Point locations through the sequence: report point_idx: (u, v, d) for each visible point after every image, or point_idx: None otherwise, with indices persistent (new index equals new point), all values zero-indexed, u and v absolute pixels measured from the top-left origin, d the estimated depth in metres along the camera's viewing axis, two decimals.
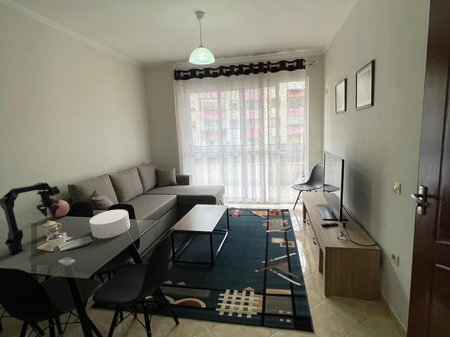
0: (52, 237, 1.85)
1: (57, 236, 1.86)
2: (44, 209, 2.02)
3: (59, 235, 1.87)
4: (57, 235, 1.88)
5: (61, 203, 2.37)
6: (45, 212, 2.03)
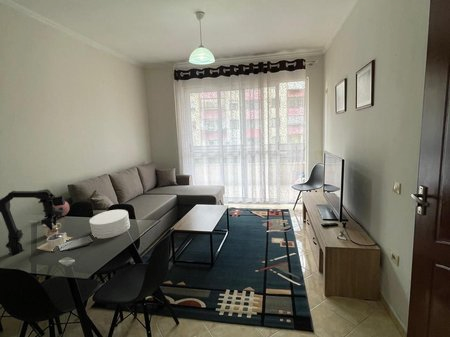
0: (52, 237, 1.85)
1: (57, 236, 1.86)
2: (53, 217, 1.87)
3: (59, 235, 1.87)
4: (57, 235, 1.88)
5: None
6: (54, 221, 1.87)
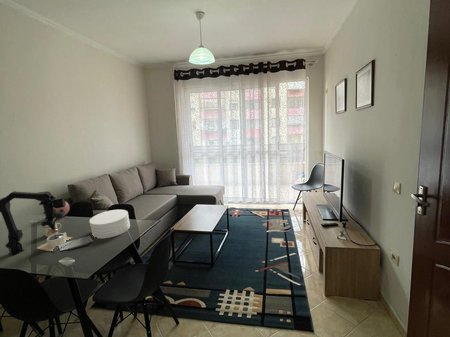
0: (52, 238, 1.85)
1: (57, 237, 1.86)
2: None
3: (59, 236, 1.87)
4: (57, 235, 1.88)
5: None
6: None
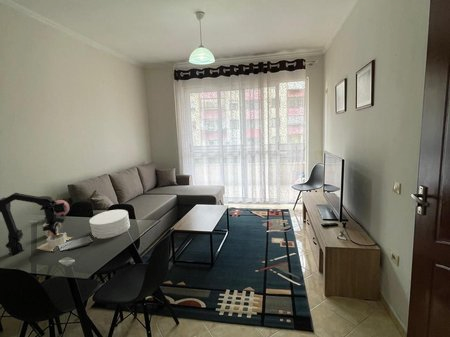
0: None
1: None
2: None
3: None
4: None
5: None
6: None
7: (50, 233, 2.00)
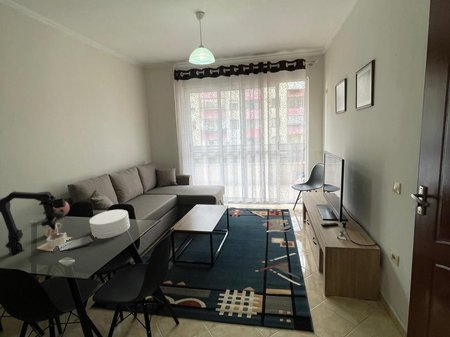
0: None
1: None
2: None
3: None
4: None
5: None
6: None
7: (50, 233, 2.00)
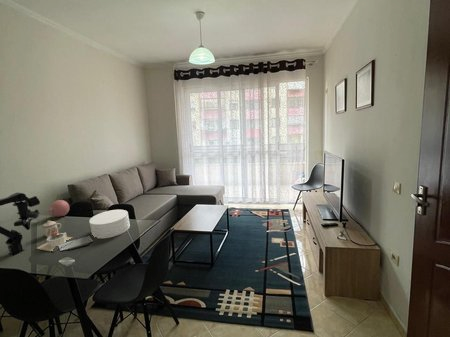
0: None
1: None
2: None
3: None
4: None
5: (61, 203, 2.37)
6: None
7: (50, 233, 2.00)
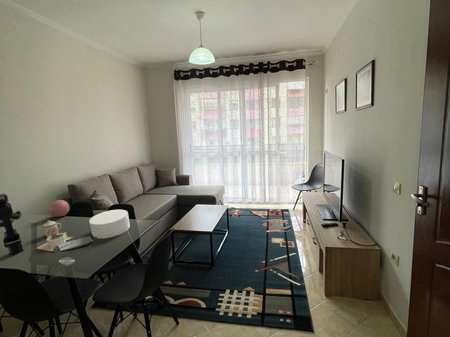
0: None
1: None
2: None
3: None
4: None
5: (61, 203, 2.37)
6: None
7: (50, 233, 2.00)
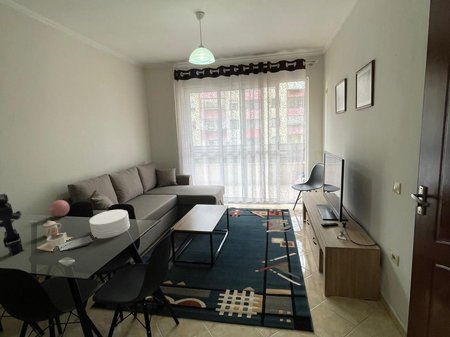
0: None
1: None
2: None
3: None
4: None
5: (61, 203, 2.37)
6: None
7: (50, 233, 2.00)
